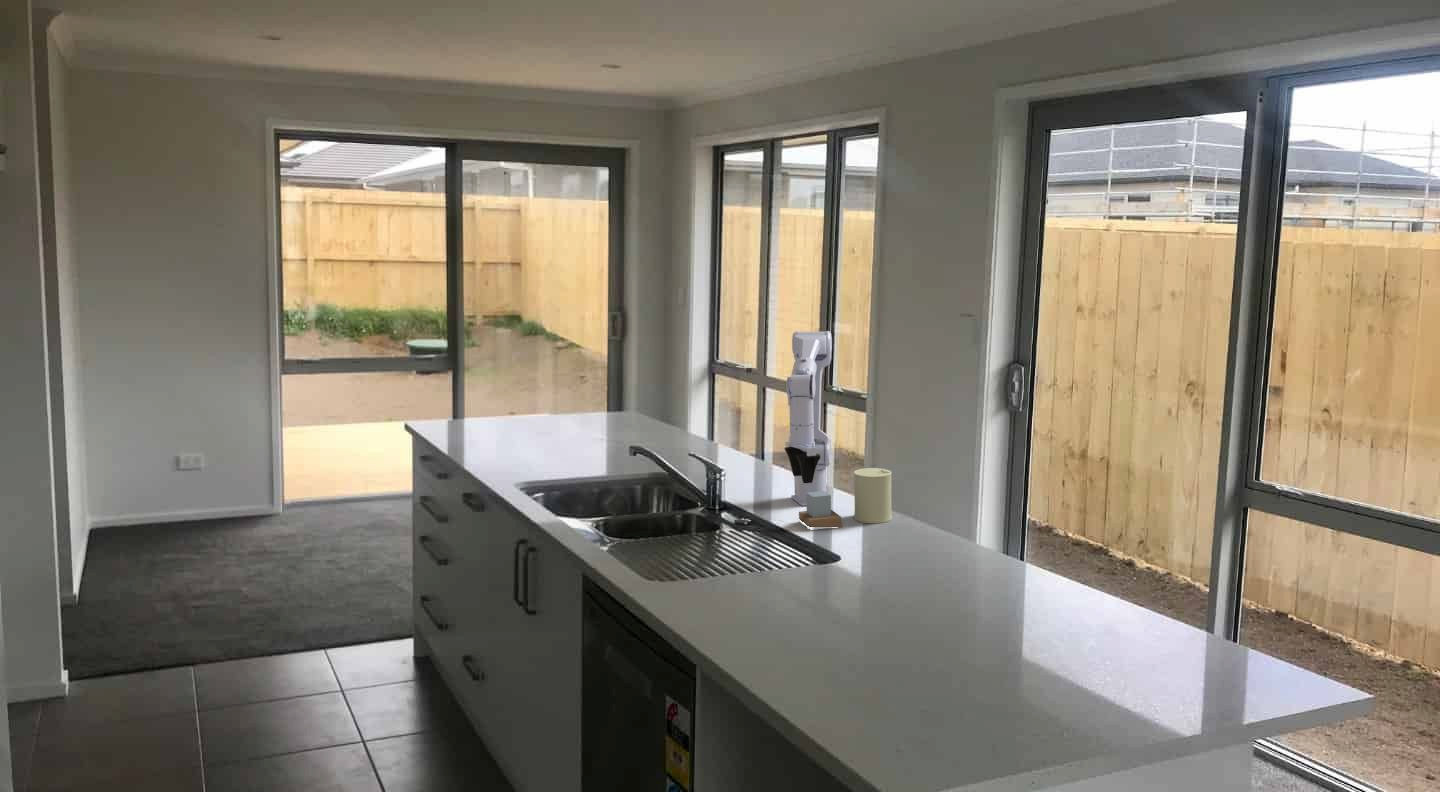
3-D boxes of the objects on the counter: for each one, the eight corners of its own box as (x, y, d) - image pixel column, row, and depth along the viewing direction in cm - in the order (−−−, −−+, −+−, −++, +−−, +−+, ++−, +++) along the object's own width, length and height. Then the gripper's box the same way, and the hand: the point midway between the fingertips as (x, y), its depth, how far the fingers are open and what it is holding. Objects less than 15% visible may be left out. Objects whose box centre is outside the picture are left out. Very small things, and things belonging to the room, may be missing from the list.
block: (806, 512, 274) (806, 492, 273) (824, 511, 275) (823, 490, 274) (813, 517, 270) (813, 496, 269) (830, 515, 271) (830, 495, 270)
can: (894, 523, 272) (894, 474, 270) (855, 523, 272) (855, 475, 270) (889, 512, 281) (889, 465, 279) (852, 513, 282) (851, 466, 280)
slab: (799, 523, 276) (798, 511, 275) (830, 520, 278) (830, 508, 277) (809, 532, 268) (809, 520, 267) (841, 529, 270) (841, 517, 269)
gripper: (776, 419, 278) (777, 473, 281) (795, 430, 265) (796, 487, 267) (804, 417, 280) (805, 471, 282) (823, 428, 266) (824, 485, 269)
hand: (802, 479), depth 275 cm, fingers open, 7 cm apart
